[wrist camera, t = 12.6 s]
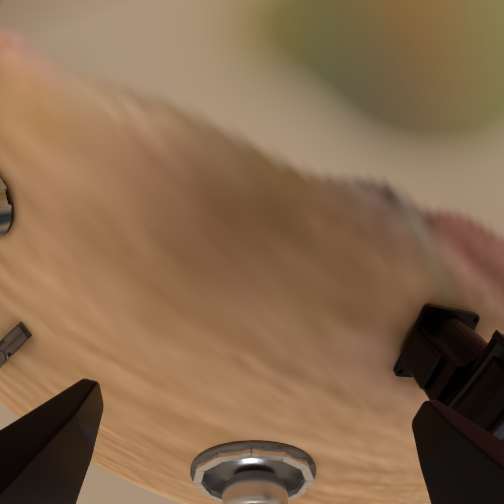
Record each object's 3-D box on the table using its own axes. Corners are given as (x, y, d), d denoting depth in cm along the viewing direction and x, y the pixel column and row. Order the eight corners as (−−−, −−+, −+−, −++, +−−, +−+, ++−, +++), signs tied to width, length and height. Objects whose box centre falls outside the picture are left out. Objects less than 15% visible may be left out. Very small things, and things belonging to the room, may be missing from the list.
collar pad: (334, 445, 26) (337, 455, 24) (292, 503, 29) (293, 511, 28) (198, 430, 25) (196, 441, 23) (186, 491, 28) (184, 500, 27)
